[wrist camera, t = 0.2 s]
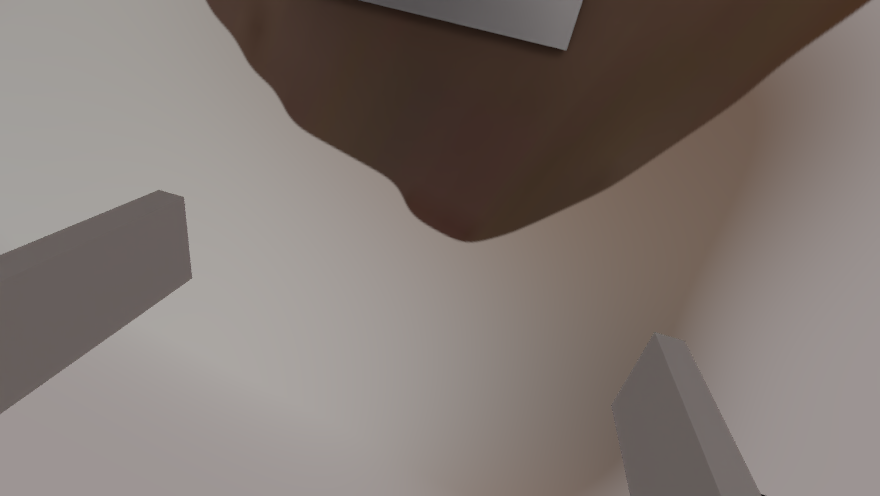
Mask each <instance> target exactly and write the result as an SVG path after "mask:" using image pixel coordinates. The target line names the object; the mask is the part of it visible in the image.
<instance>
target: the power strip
mask: <svg viewBox="0 0 880 496" xmlns="http://www.w3.org/2000/svg"><path fill="white" fill-rule="evenodd" d="M360 1H365V2H369V3H373V4H377V5H381V6H385V7H389V8H393V9H397V10H402V11H406V12H410V13H414V14H418V15H422V16H426V17H430V18H435V19H439V20H443V21H447V22H451V23H455V24H459V25H463V26H467V27H472V28H476V29H480V30H484V31H488V32H492V33H496V34H500V35H504V36H509V37H513V38H517V39H521V40H525V41H529V42H533V43H537V44H542V45H546V46H550V47H554V48H558V49H562V50H567V47H568V44H569V41H570V38H571V35H572V32H573V29H574V26H575V23H576V19H577V16H578V13H579V10H580V7H581V4H582V1H583V0H360Z"/></svg>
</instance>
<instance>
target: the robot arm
mask: <svg viewBox="0 0 880 496" xmlns="http://www.w3.org/2000/svg"><path fill="white" fill-rule="evenodd" d="M190 279H192V273H191V263H190V254H189V244H188V233H187V224H186V215H185V204H184V197H181V196H178V195H174V194H171V193H167V192H164V191H160V190H158V191H155V192H153V193H150V194H148V195H146V196H143V197H141V198H138V199H136V200H133V201H131V202H129V203H126V204H124V205H121V206H119V207H116V208H114V209H112V210H109V211H107V212H105V213H102V214H99V215H97V216H95V217H92V218H90V219H87V220H85V221H82V222H80V223H77V224H75V225H73V226H70V227H68V228H65V229H63V230H61V231H58V232H56V233H53V234H51V235H48V236H46V237H43V238H41V239H39V240H36V241H34V242H31V243H29V244H27V245H24V246H22V247H19V248H17V249H14V250H12V251H9V252H7V253H5V254H2V255H0V414H1V413H2V412H4V411H5V410H7V409H8V408H9V407H10V406H12V405H14V404H15V403H16V402H18V401H19V400H21V399H22V398H24V397H25V396H26V395H28V394H29V393H31V392H32V391H33V390H35V389H36V388H38V387H39V386H40V385H42V384H43V383H45V382H46V381H48V380H49V379H50V378H52V377H53V376H55V375H56V374H57V373H59V372H60V371H62V370H63V369H64V368H66V367H67V366H69V365H70V364H72V363H73V362H74V361H76V360H77V359H79V358H80V357H81V356H83V355H84V354H85V353H87V352H88V351H90V350H91V349H93V348H94V347H95V346H97V345H98V344H100V343H101V342H103V341H104V340H105V339H107V338H108V337H109V336H111V335H113V334H114V333H115V332H117V331H118V330H120V329H121V328H122V327H124V326H125V325H127V324H128V323H129V322H131V321H132V320H134V319H135V318H137V317H138V316H139V315H141V314H142V313H144V312H145V311H146V310H148V309H149V308H151V307H152V306H153V305H155V304H156V303H158V302H159V301H160V300H162V299H163V298H165V297H166V296H168V295H169V294H170V293H172V292H173V291H175V290H176V289H177V288H179V287H180V286H182V285H183V284H185V283H186V282H187V281H189V280H190ZM611 406H612V411H613V415H614V420H615V425H616V430H617V434H618V439H619V444H620V449H621V454H622V458H623V463H624V468H625V472H626V477H627V483H628V487H629V492H630V496H765V495H762V494H760V492H759V490H758V488H757V486H756V484H755V482H754V480H753V478H752V476H751V474H750V472H749V469H748V467H747V466H746V463H745V461H744V459H743V457H742V455H741V453H740V451H739V449H738V447H737V445H736V443H735V441H734V439H733V437H732V435H731V433H730V431H729V429H728V427H727V425H726V423H725V421H724V419H723V417H722V415H721V413H720V411H719V409H718V407H717V405H716V403H715V401H714V399H713V397H712V395H711V393H710V391H709V389H708V387H707V385H706V382H705V381H704V379H703V376H702V374H701V372H700V370H699V368H698V366H697V364H696V362H695V360H694V358H693V356H692V354H691V352H690V350H689V348H688V346H687V344H686V342H685V341H684V340H680V339H677V338H673V337H670V336H667V335H663V334H660V333H656V332H655V333H654V334H653V336H652V337H651V339H650V341H649V342H648V344H647V346H646V347H645V349H644V351H643V353H642V354H641V356H640V358H639V359H638V361H637V363H636V364H635V366H634V368H633V369H632V371H631V373H630V375H629V376H628V378H627V380H626V381H625V383H624V385H623V386H622V388H621V390H620V391H619V393H618V395H617V397H616V398H615V400H614V402H613V403H612V405H611Z"/></svg>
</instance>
